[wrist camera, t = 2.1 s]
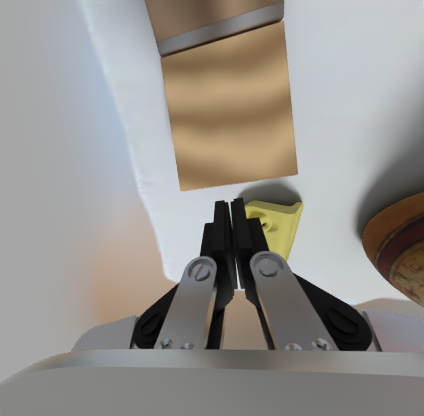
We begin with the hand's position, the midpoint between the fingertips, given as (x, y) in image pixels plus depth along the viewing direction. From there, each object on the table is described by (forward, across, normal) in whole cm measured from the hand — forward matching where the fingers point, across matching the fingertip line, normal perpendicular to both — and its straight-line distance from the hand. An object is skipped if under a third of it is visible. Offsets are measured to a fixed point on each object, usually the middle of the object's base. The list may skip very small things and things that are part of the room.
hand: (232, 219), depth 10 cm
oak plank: (+15, -1, -4) cm, 15 cm away
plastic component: (+19, -5, +20) cm, 28 cm away
